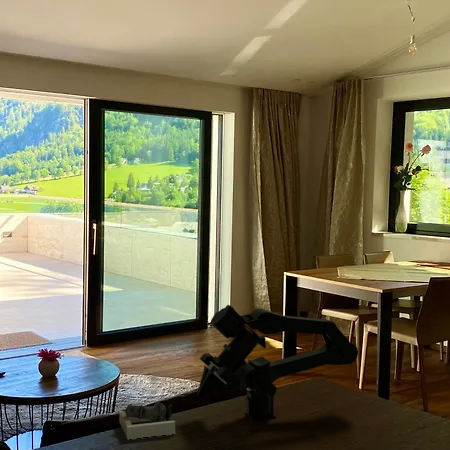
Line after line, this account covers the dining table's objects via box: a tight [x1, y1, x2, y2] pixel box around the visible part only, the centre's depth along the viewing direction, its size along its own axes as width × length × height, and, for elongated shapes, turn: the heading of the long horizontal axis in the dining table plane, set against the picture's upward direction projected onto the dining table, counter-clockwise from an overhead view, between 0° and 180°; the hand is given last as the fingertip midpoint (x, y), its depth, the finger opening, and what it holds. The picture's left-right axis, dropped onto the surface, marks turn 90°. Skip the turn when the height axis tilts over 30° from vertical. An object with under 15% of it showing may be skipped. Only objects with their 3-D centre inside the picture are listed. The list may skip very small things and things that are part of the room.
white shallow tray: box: [119, 410, 176, 441], centre depth 162 cm, size 11×12×3 cm
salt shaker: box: [121, 401, 173, 423], centre depth 163 cm, size 6×6×12 cm
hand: (198, 397), depth 166 cm, fingers closed
